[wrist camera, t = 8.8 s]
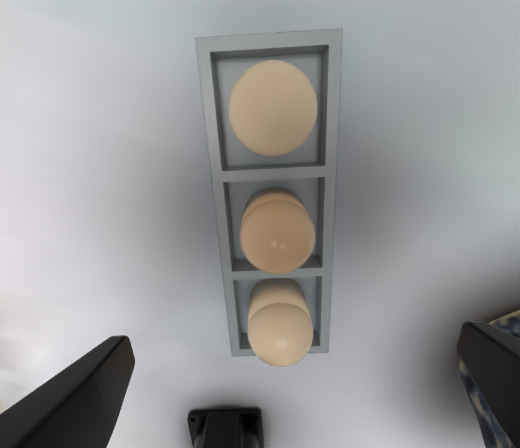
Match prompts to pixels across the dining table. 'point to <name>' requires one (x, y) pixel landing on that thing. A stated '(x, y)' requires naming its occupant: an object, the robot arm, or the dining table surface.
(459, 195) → the dining table surface
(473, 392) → the jug
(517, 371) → the robot arm
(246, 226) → the egg
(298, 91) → the carton
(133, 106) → the dining table surface
